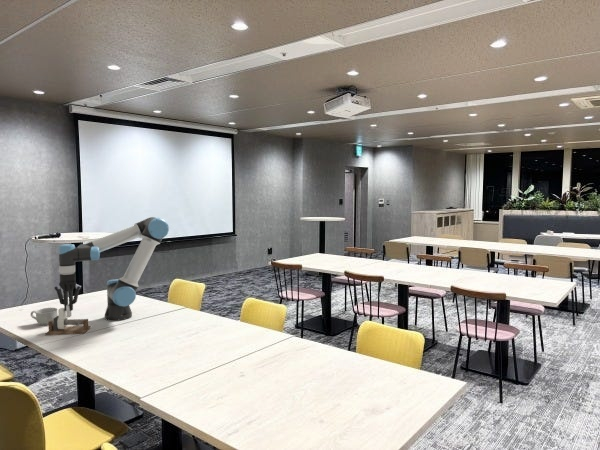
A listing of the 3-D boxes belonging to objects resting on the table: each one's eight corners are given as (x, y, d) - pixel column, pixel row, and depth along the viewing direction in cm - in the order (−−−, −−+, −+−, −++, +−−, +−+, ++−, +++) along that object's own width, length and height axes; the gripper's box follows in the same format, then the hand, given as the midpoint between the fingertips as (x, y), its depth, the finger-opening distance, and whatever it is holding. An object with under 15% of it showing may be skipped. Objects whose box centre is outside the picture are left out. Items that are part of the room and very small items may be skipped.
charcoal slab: (62, 326, 233) (61, 315, 232) (57, 330, 226) (56, 318, 226) (59, 326, 233) (58, 315, 232) (54, 330, 226) (53, 318, 226)
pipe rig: (91, 327, 237) (90, 315, 237) (83, 333, 226) (83, 321, 226) (54, 328, 235) (54, 317, 234) (45, 335, 224) (44, 323, 223)
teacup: (62, 321, 248) (61, 307, 248) (49, 327, 238) (49, 312, 237) (39, 320, 250) (39, 307, 249) (26, 326, 239) (25, 312, 238)
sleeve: (67, 325, 233) (67, 307, 232) (63, 329, 227) (62, 310, 226) (61, 326, 232) (61, 307, 232) (57, 329, 227) (56, 310, 226)
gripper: (83, 271, 233) (84, 314, 234) (57, 272, 231) (58, 315, 233) (77, 274, 225) (79, 318, 227) (51, 274, 223) (52, 319, 225)
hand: (68, 316), depth 230 cm, fingers closed
